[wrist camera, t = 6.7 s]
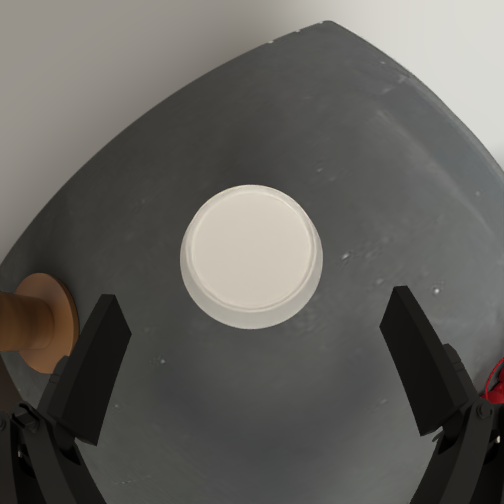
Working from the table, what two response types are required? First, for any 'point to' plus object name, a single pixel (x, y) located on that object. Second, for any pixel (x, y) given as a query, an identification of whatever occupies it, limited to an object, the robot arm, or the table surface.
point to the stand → (39, 321)
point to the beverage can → (251, 257)
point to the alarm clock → (496, 390)
